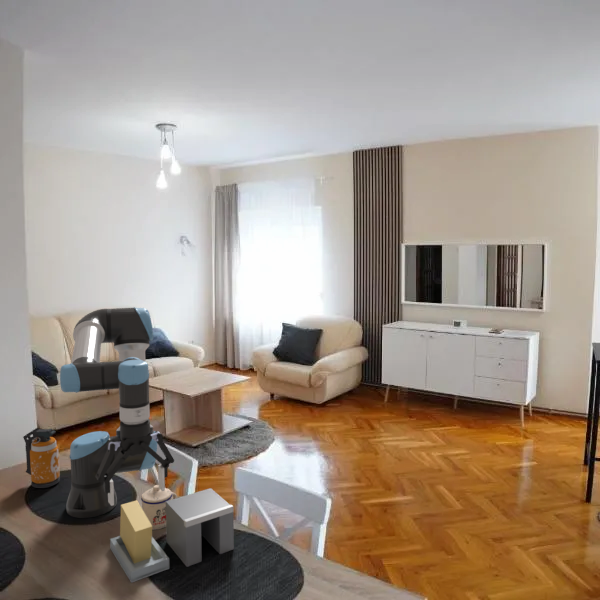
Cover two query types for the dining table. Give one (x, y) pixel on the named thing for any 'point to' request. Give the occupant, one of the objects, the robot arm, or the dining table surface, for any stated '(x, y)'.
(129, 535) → the yellow cuboid
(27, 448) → the canister
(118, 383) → the robot arm
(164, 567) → the tray
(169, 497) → the teacup with lid
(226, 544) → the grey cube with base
